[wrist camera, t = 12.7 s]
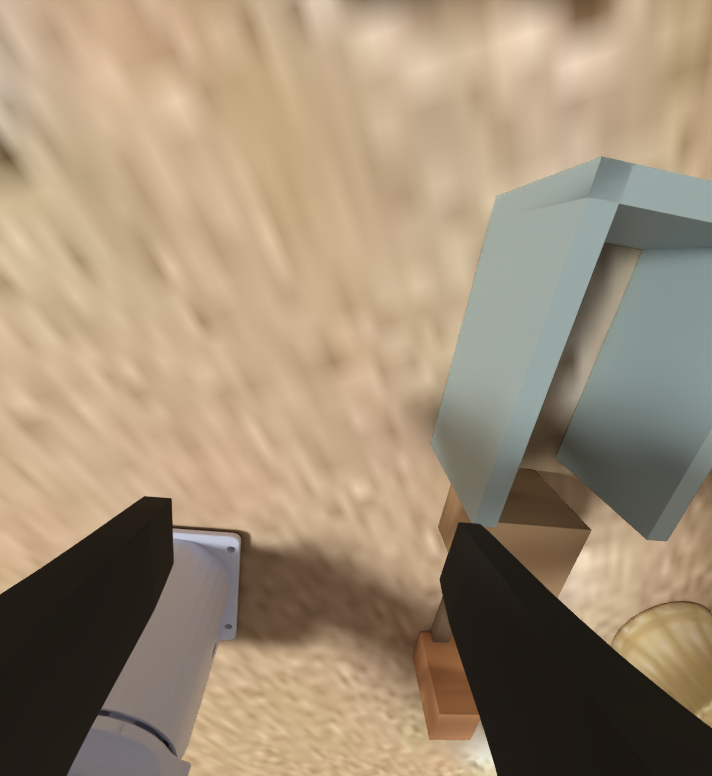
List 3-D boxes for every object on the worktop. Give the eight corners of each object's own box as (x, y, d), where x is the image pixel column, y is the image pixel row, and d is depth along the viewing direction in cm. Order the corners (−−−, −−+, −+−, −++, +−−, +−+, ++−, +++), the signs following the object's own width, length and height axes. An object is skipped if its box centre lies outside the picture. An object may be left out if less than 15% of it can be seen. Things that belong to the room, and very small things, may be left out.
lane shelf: (570, 459, 21) (667, 541, 15) (430, 444, 20) (472, 525, 14) (670, 231, 16) (866, 215, 10) (496, 196, 15) (601, 156, 9)
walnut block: (459, 657, 27) (485, 739, 23) (399, 655, 27) (413, 739, 22) (534, 470, 21) (591, 530, 16) (457, 462, 21) (494, 522, 16)
